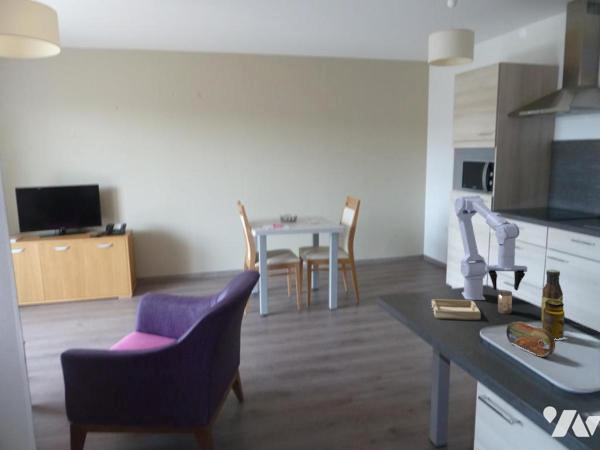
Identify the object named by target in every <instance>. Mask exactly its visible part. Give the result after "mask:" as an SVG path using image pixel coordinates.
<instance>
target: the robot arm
mask: <svg viewBox="0 0 600 450" xmlns="http://www.w3.org/2000/svg"><path fill="white" fill-rule="evenodd" d="M453 205H454V211H455V214H456V217H457V221H458V226H459V231H460V236H461V241H462V246H463V250H464V257H463V258H462V259H461V260H460V273H461V275H462V277H463V278H464V283H463V291H462V292H461V295H462V296H463V298H464V300H473V301H486V297H485V296H484V294H483V293H484V290H483V289H484V279H485V277H486V275H487V274H488V275H489V277H490V280H491V284H492V288H493V290H494V291H497V285H498V284H497V282H498V281H497V279H498V273H497V272H513V275H514V281H513V282H514V283H513V286H514V287H513V288H514V290H515V291H519V288H520V287H519V286H520V284H521V282H522V280H523V278H524V277H525V275H526V273H528V266H527V265H516V264H515V263H516V262H515V261H516V260H515V256H516V239H517V238H518V237H519V236H520V228H519V226H518V225H517V224H516V223H514V222H512V223H511V222H509V221H508V220H507V219H506V218H504V217H503V216H502V215H501V213H500V212H493V211H492V210H491V209H490V208H489V207H488V206H487V205H486V204H485V203H484V199H483V197H481V196H480V195H478V194H477V195H467V196H460V195H459V196H457V197H456V199H455V201H454V203H453ZM477 213H478V214H479V215H480V216H481V217H483V218H484V219H485V222H486V224H487V225H488V226H489V228H491V229H492V230H493V231H494V232H495V236H496V239H497V240H496V242H497V244H498V248H497V249H498V254H497V259H498V260H497V264H495V265H494V264H493V265H492V264H491V265H487V262H486V260H485V257H483V256H482V255H480V254H479V250H478V246H477V242H476V236H475V235H476V234H475V231H474V226H473V223H472V218H473V217H474V216H475V215H476V214H477Z"/></svg>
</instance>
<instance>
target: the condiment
mask: <svg viewBox="0 0 600 450" xmlns="http://www.w3.org/2000/svg"><path fill="white" fill-rule="evenodd" d="M564 305H565V304H564V303H562V302H560V301H557V300H547V301H546V302H545V308H544V310H543V324H542V326H541V327H542V329H545V330H547V331H548V332H549V333H550V334H551V335H552V336H553V338H554V339H555V338H556V339H559V338H563V336H564V330H565V329H564V328H565V327H564V326H565V309H564Z"/></svg>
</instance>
